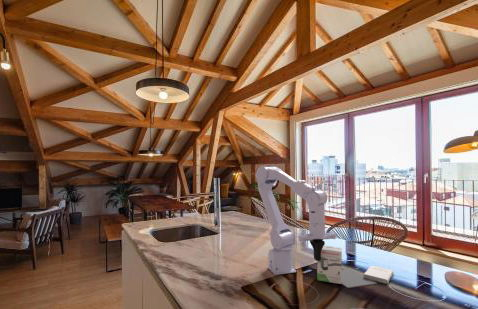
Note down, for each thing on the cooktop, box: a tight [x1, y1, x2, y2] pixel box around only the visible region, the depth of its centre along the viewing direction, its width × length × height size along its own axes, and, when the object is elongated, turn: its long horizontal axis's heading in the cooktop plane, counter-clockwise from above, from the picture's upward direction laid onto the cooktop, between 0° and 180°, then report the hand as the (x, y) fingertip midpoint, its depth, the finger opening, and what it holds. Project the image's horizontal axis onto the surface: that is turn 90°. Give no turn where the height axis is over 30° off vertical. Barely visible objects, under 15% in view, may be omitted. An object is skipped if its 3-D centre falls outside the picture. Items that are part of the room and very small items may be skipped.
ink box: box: [316, 245, 343, 285], centre depth 98 cm, size 9×5×12 cm, turn 72°
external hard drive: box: [362, 265, 394, 284], centre depth 102 cm, size 2×8×12 cm
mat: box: [340, 268, 378, 289], centre depth 101 cm, size 12×14×1 cm
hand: (317, 259), depth 97 cm, fingers closed, pressing on ink box
